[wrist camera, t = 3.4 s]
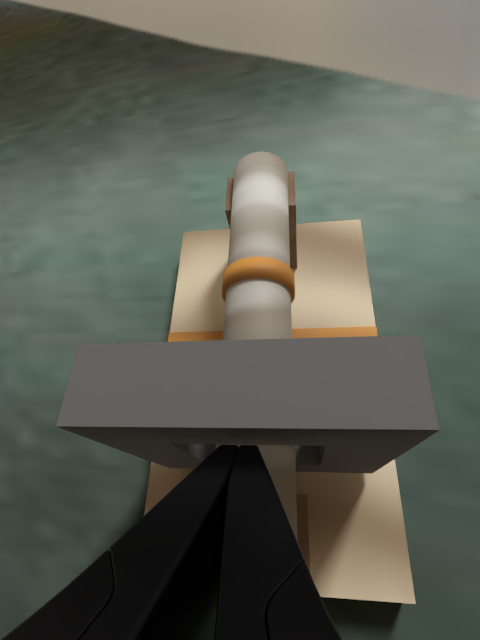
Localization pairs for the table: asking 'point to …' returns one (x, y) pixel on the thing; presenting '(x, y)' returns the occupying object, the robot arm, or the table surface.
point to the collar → (255, 399)
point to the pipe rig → (283, 323)
